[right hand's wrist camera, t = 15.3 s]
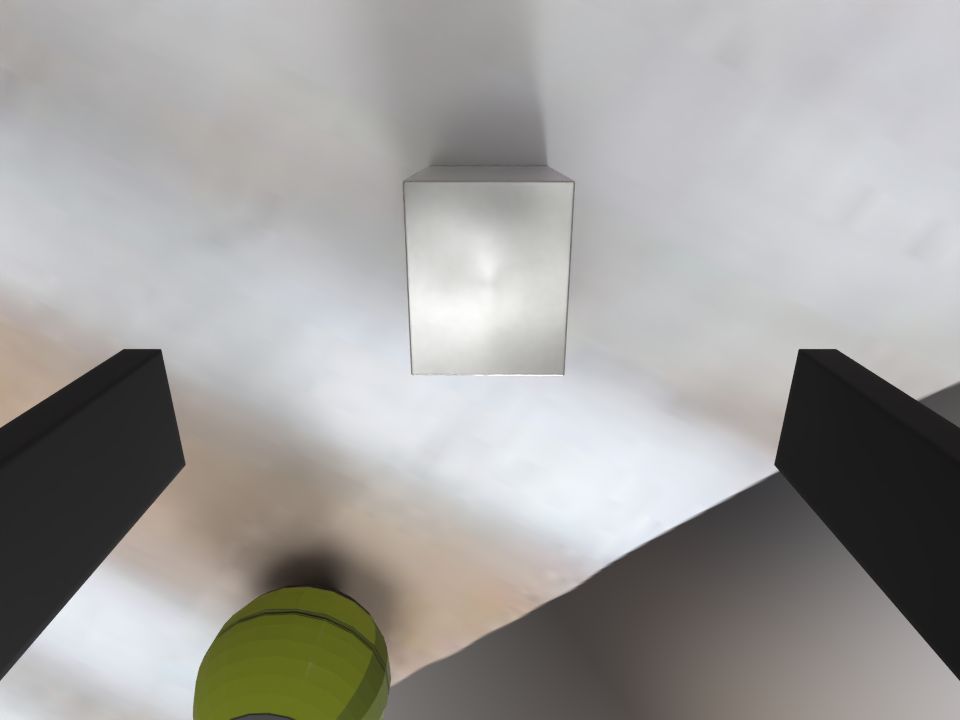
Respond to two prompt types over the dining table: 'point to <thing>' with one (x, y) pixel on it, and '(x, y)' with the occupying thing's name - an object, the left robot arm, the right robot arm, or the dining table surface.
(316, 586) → the grenade
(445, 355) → the block
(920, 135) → the dining table surface
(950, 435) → the right robot arm
